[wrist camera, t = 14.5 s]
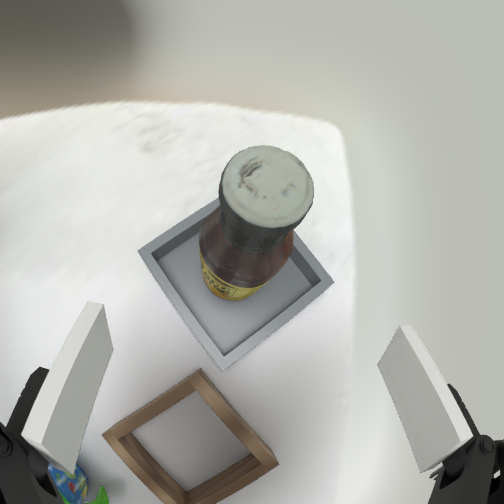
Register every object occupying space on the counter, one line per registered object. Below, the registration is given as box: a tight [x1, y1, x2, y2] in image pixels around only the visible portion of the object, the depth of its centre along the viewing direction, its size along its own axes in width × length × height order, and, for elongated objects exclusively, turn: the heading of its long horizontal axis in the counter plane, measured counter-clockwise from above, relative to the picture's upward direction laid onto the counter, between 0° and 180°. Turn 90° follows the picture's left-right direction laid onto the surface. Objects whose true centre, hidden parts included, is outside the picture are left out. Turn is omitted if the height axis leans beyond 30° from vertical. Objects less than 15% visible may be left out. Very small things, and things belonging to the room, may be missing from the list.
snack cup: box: [48, 463, 109, 504], centre depth 17 cm, size 16×11×10 cm
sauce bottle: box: [199, 146, 314, 301], centre depth 21 cm, size 7×6×20 cm
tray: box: [138, 198, 334, 371], centre depth 30 cm, size 14×14×4 cm
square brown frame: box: [102, 368, 279, 504], centre depth 24 cm, size 12×12×4 cm
